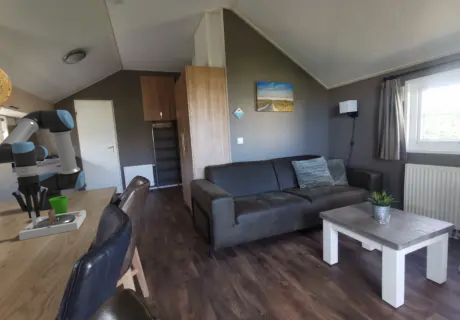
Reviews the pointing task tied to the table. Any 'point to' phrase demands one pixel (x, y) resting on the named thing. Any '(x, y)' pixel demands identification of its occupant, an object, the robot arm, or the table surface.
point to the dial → (55, 219)
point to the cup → (59, 204)
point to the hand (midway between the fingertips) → (36, 224)
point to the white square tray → (33, 232)
